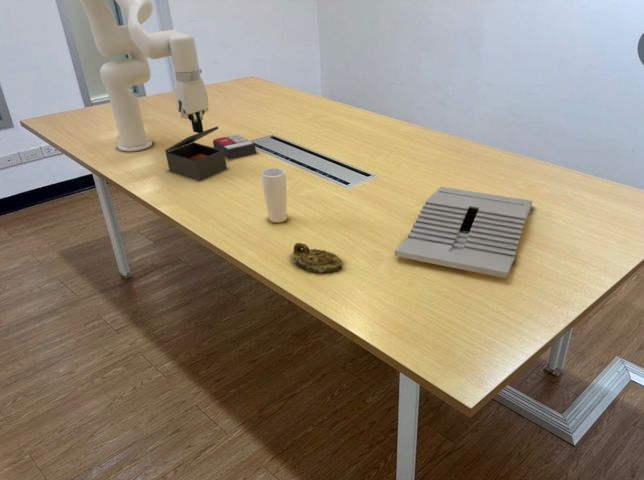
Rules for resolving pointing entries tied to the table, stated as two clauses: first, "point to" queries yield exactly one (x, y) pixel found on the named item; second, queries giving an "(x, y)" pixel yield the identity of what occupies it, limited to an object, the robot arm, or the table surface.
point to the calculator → (234, 146)
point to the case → (194, 169)
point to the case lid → (191, 139)
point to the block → (198, 157)
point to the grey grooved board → (467, 231)
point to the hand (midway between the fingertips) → (198, 131)
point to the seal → (315, 259)
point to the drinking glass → (275, 193)
